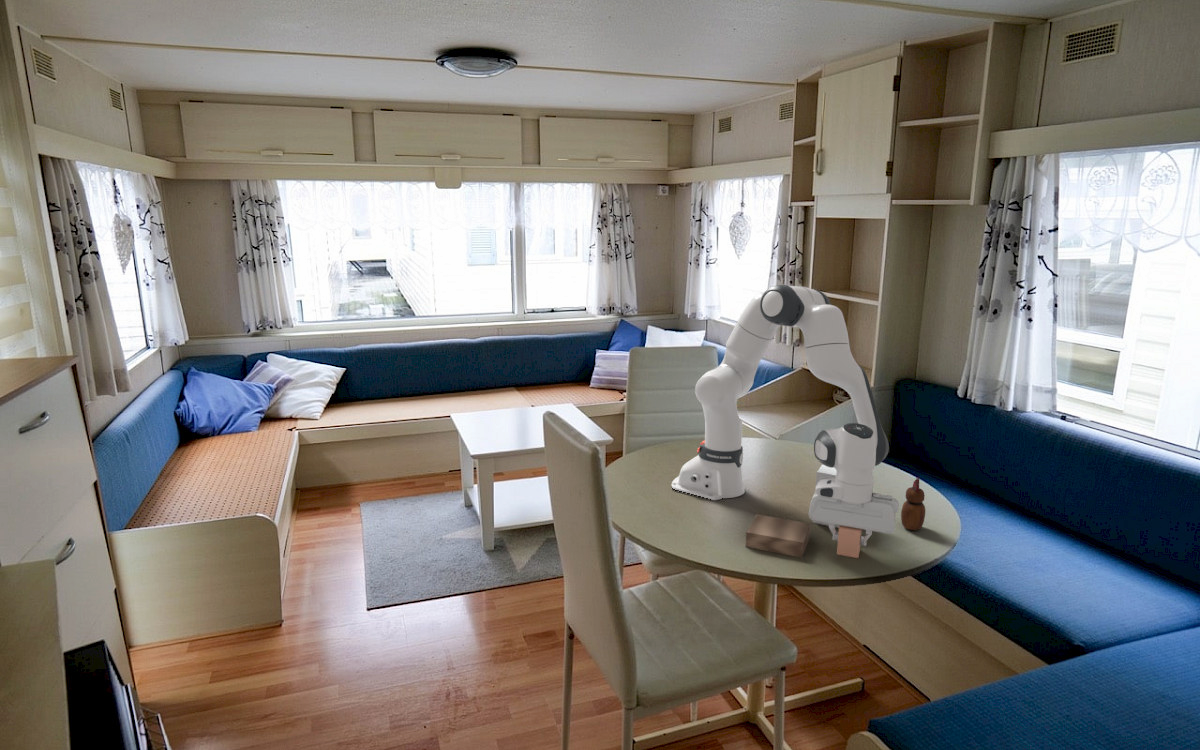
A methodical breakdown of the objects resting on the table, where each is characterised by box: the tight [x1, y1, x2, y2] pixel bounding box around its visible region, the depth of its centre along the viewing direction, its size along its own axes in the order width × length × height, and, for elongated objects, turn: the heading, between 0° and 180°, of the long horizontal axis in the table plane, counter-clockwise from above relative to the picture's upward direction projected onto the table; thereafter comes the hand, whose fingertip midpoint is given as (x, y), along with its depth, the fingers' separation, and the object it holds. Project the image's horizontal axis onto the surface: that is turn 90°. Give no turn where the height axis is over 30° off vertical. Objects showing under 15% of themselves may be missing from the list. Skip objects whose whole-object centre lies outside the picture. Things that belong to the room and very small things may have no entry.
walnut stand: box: [745, 514, 812, 558], centre depth 177 cm, size 14×12×4 cm
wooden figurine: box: [900, 476, 926, 531], centre depth 184 cm, size 7×6×15 cm
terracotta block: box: [836, 525, 863, 559], centre depth 171 cm, size 5×5×7 cm
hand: (849, 542), depth 172 cm, fingers closed on terracotta block, 5 cm apart
